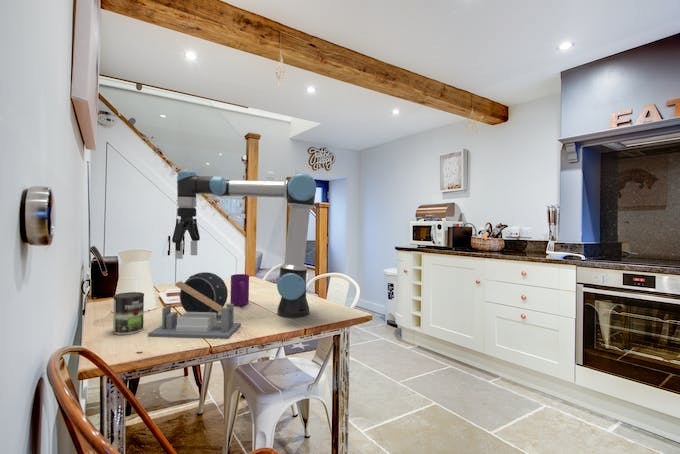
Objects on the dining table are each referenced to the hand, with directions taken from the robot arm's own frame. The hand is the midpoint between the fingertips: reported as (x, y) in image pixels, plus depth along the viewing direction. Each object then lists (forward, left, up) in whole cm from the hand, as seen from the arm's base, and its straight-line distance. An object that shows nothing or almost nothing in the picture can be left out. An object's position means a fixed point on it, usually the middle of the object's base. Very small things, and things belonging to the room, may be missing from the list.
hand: (186, 257), depth 151 cm
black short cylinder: (-5, -6, -28) cm, 29 cm away
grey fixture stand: (-10, +13, -28) cm, 32 cm away
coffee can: (+16, +15, -28) cm, 35 cm away
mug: (-15, -28, -28) cm, 43 cm away
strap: (-12, +13, -16) cm, 24 cm away
